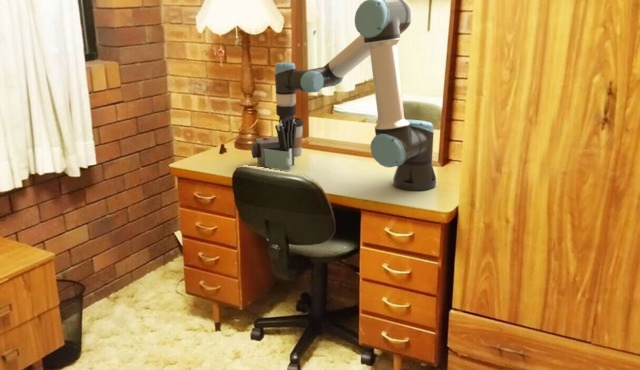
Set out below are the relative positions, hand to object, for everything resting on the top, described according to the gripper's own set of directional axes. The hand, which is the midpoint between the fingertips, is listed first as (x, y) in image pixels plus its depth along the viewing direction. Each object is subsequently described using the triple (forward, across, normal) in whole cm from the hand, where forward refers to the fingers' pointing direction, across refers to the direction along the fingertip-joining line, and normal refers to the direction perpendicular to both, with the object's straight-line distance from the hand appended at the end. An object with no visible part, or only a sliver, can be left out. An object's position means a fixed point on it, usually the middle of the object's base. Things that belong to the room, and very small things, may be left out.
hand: (287, 164), depth 242 cm
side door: (+1, +4, -3) cm, 5 cm away
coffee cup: (+2, -20, -9) cm, 21 cm away
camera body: (+2, -4, -9) cm, 10 cm away
